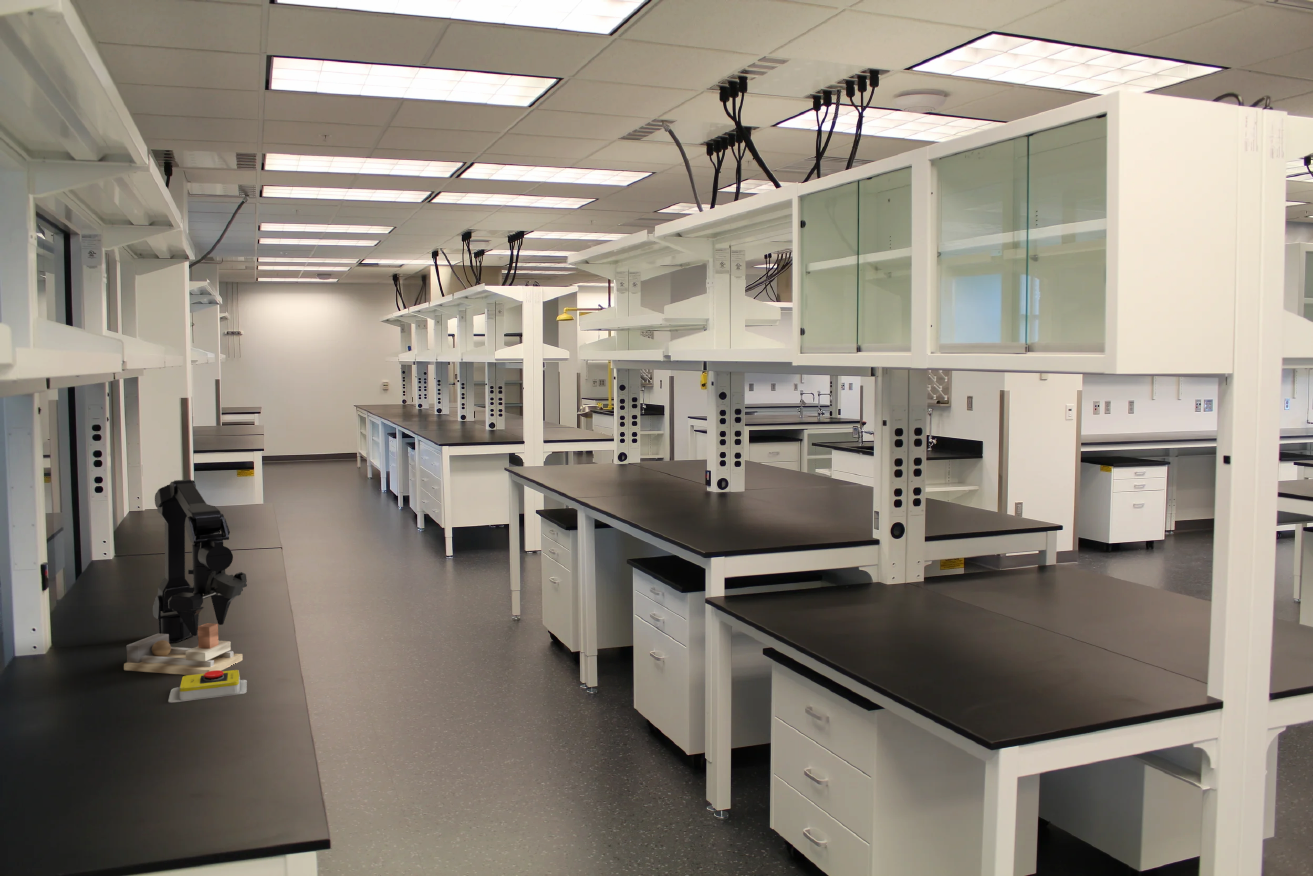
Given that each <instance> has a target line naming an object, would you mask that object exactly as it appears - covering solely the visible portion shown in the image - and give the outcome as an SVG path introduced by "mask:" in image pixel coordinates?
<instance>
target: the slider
mask: <svg viewBox="0 0 1313 876" xmlns="http://www.w3.org/2000/svg"><path fill="white" fill-rule="evenodd" d="M197 635H198V636H197V640H198V644H197V646H195V647H193V648H192V649H190V650H188V651H186V660H194V661H207V660H209V659H212V658H214V657H216V656H218V655H220V654H222V653H225V652H227V651H232V647H231V641H229V640H219V624H218V623H207V622H206V623H204V624H201V625H198V632H197Z"/></svg>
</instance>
